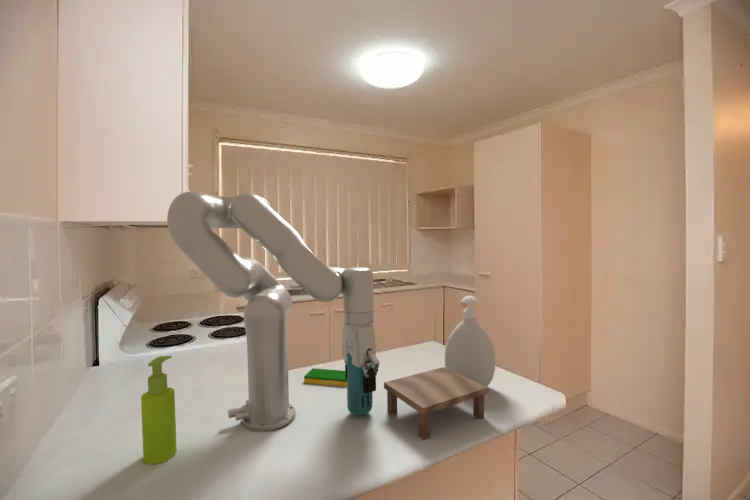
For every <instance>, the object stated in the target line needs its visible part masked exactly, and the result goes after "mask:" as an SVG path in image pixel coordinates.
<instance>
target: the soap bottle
mask: <svg viewBox="0 0 750 500" xmlns="http://www.w3.org/2000/svg"><path fill="white" fill-rule="evenodd" d="M461 303H462V304H467V308H464V310H463V311H462V313H463V314H462V316H463V318H462V320H461V321H460V322H459V323H458V324H457V325H456V326H455V328H454V329H453V330H452V332H451V333H450V335H449V336H448V338H447V341H446V345H445V350H444V367H445V368H447V369H449V370H451V371H453V372H456V373H458V374H460V375H462V376H464V377H466V378H468V379H471V380H473V381H475V382H477V383H479V384H481V385H484V386H486V387H488V386H489V385H490V384H491V382H492V380H493V379H494V375H495V371H496V353H495V348H494V344H493V340H492V338H491V337H490V336H489V334H488V333H487V331H486V329H485V328H484V327H483V326H482V325H481V323H480V322H479V321H478V320H477V310H476V309H475V308H473V304H478V303H479V300H478V299H477V297H475V296H473V295H466V296H464V297H463V298H461Z"/></svg>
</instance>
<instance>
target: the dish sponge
mask: <svg viewBox="0 0 750 500" xmlns="http://www.w3.org/2000/svg"><path fill="white" fill-rule="evenodd" d="M303 383H304V384H311V385H313V384H314V385H324V386H325V385H326V386H338V387H347V384H346V383H347V379H346V378H345V370H337V369H327V368H326V369H325V368H311V369H310V370H309V371H308V372H307V373H306V374H305V375H303Z"/></svg>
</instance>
